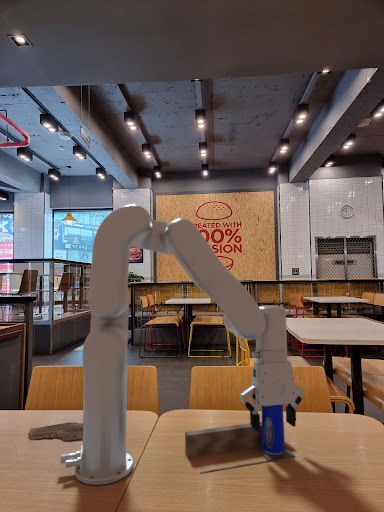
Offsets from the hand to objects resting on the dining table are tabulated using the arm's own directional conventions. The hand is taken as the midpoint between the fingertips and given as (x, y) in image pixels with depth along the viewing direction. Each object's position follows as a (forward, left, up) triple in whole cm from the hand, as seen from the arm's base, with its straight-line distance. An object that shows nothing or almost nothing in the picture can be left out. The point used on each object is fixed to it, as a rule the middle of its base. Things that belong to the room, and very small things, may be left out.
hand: (273, 426), depth 82 cm
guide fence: (-8, 0, -6) cm, 10 cm away
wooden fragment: (-48, +26, -6) cm, 55 cm away
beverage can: (0, 0, -6) cm, 6 cm away
